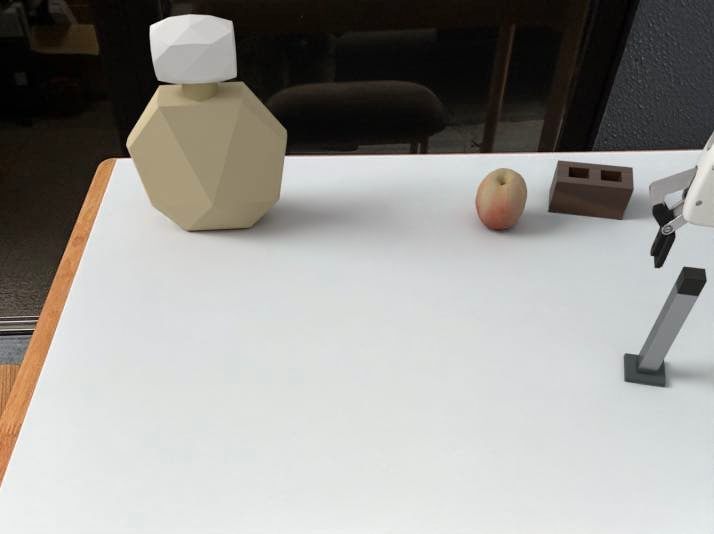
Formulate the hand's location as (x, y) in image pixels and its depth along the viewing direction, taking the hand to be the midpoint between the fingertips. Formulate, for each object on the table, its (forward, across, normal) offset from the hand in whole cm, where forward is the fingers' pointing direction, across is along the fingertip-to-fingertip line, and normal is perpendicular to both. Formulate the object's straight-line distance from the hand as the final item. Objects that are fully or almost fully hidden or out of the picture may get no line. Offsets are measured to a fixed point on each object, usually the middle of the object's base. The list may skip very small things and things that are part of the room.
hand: (702, 265), depth 74 cm
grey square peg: (+15, -1, 0) cm, 15 cm away
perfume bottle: (+15, -68, +23) cm, 73 cm away
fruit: (+16, -23, +31) cm, 41 cm away
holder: (+16, -9, +39) cm, 43 cm away
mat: (+15, -1, 0) cm, 15 cm away
